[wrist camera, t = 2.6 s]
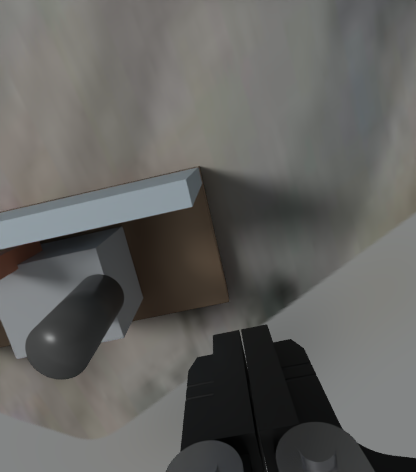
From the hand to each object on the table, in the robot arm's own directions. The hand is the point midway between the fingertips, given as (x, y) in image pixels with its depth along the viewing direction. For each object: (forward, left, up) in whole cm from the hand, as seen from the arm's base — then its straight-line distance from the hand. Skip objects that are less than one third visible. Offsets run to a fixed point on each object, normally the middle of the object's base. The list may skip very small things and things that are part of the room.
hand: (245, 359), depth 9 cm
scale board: (+11, -4, -13) cm, 18 cm away
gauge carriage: (+10, 0, -13) cm, 16 cm away
